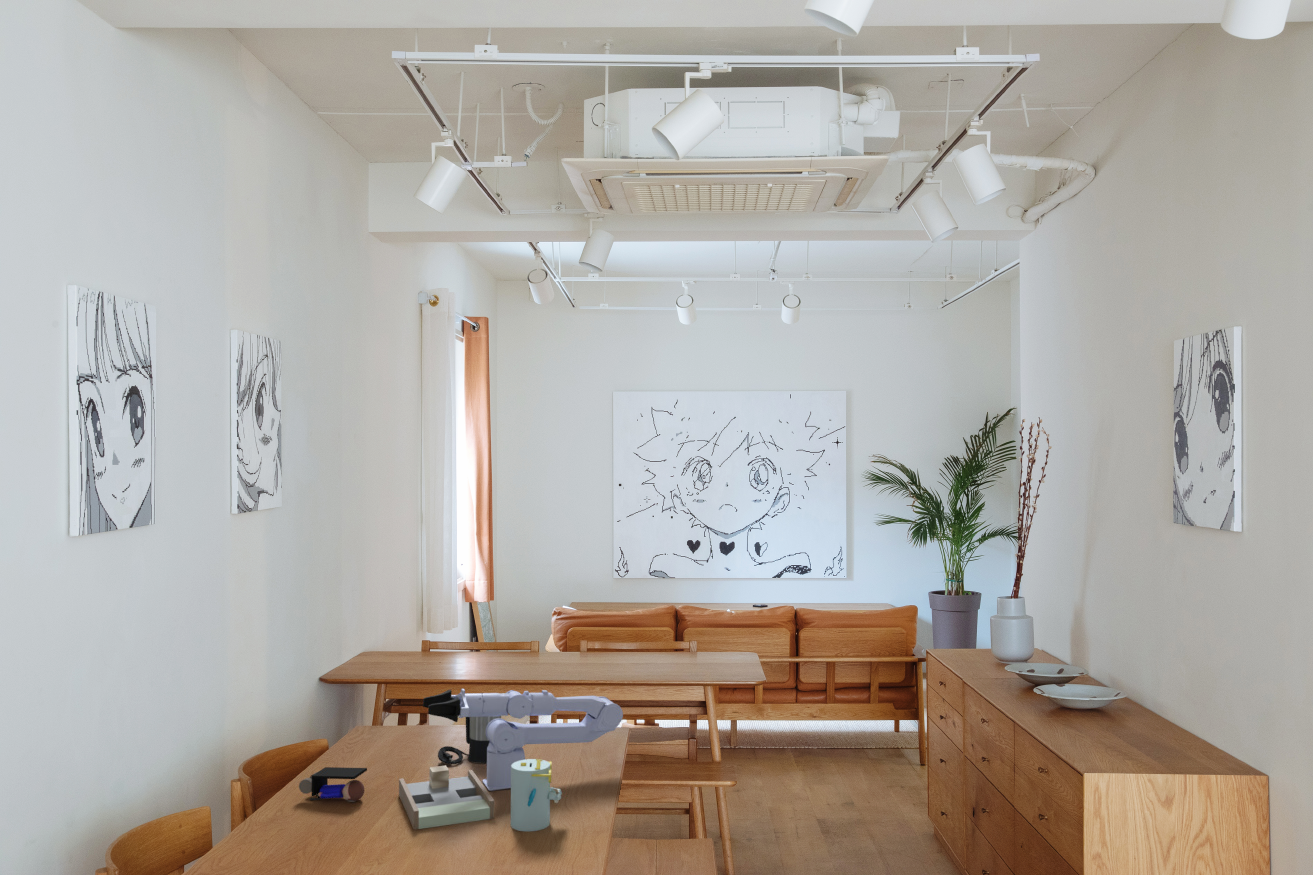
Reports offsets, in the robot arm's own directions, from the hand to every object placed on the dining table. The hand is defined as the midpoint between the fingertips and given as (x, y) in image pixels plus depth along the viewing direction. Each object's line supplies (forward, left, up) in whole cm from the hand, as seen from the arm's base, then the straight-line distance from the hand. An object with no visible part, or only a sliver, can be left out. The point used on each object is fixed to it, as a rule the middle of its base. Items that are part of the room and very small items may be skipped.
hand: (425, 705), depth 228 cm
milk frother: (-16, -23, -22) cm, 36 cm away
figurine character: (+21, -5, -22) cm, 31 cm away
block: (-3, +2, -19) cm, 19 cm away
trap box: (-3, +10, -22) cm, 24 cm away
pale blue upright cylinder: (-20, +29, -22) cm, 42 cm away
